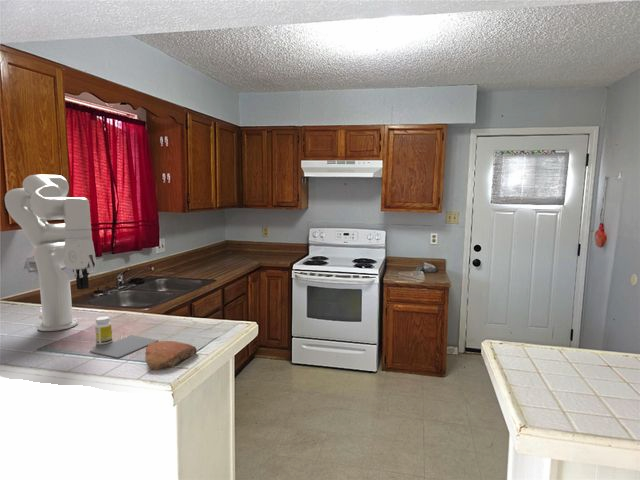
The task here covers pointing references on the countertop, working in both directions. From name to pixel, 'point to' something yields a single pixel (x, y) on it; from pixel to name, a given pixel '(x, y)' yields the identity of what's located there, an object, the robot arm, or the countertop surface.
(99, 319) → the supplement bottle
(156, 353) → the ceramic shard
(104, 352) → the mat
